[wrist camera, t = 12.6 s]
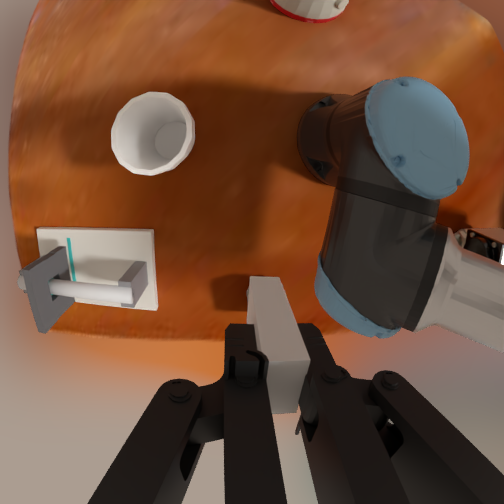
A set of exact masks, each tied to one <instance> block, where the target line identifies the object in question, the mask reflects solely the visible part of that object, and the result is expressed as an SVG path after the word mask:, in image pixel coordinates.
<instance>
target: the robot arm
mask: <svg viewBox="0 0 504 504" xmlns="http://www.w3.org/2000/svg"><path fill="white" fill-rule="evenodd" d="M297 144H298V149H299V153H300V156H301V158H302V160H303V162H304V164H305V166H306V167H307V168H308V170H309V171H310V172H311V173H312V174H313V175H314V176H315V177H316V178H317V179H319V180H320V181H322V182H324V183H326V184H328V185H331V186H334V187H336V189H335V191H334V196H333V201H332V206H331V211H330V216H329V220H328V225H327V229H326V233H325V237H324V241H323V245H322V249H321V251H320V253H319V256H318V269H317V274H316V278H315V286H314V287H315V294H316V296H317V298H318V299H319V303H320V304H321V306H322V307H323V309H324V310H325V311H326V312H327V313H328V314H329V315H330V316H331V317H332V318H333V319H334V320H336V321H337V322H338V323H340V324H341V325H343V326H344V327H346V328H348V329H350V330H352V331H354V332H356V333H358V334H361V335H364V336H368V337H373V336H377V337H378V338H389V337H391V336H393V335H395V334H396V333H397V332H398V331H400V329H401V327H402V328H404V329H407V330H410V331H412V332H414V333H416V332H418V331H420V330H423V329H425V328H427V327H429V326H433V325H436V326H438V327H441V328H443V329H446V330H448V331H451V332H453V333H456V334H458V335H461V336H463V337H465V338H468V339H470V340H473V341H475V342H478V343H481V344H483V345H485V346H488V347H490V348H493V349H495V350H498V351H500V352H503V353H504V265H503V264H501V263H498V262H496V261H494V260H491V259H489V258H486V257H484V256H481V255H479V254H476V253H474V252H471V251H469V250H466V249H464V248H462V247H461V246H459V244H458V242H457V240H456V238H455V236H454V234H453V232H452V230H451V228H449V227H446V226H443V225H441V224H438V223H436V217H437V212H438V208H439V204H440V199H442V198H445V197H447V196H449V195H451V194H453V193H454V192H455V191H456V190H457V186H458V185H461V184H462V183H463V181H464V179H465V177H466V173H467V170H468V165H469V143H468V137H467V133H466V130H465V127H464V124H463V122H462V119H461V118H460V117H459V116H458V114H457V111H456V109H455V107H454V105H453V104H452V102H451V101H450V100H449V99H448V98H447V97H446V95H445V94H444V93H442V92H441V91H440V90H439V89H438V88H437V87H435V86H434V85H432V84H430V83H429V82H427V81H424V80H422V79H419V78H415V77H399V78H396V79H392V80H384V81H381V82H379V83H377V84H375V85H373V86H371V87H369V88H367V89H365V90H363V91H361V92H359V93H358V94H356V95H354V96H352V95H346V94H336V95H330V96H327V97H324V98H322V99H320V100H319V101H317V102H315V103H314V104H313V105H311V106H310V107H309V108H308V109H307V110H306V112H305V113H304V115H303V116H302V118H301V120H300V123H299V127H298V132H297ZM298 404H299V406H300V410H301V415H300V418H299V421H298V424H297V427H296V432H295V434H296V435H298V434H299V431H300V429H301V433H302V438H303V442H304V446H305V450H306V454H307V458H308V463H309V467H310V470H311V475H312V479H313V484H314V487H315V492H316V496H317V500H318V504H504V475H503V474H502V473H501V472H500V471H499V470H498V469H497V468H496V467H495V466H494V465H493V464H492V463H491V462H490V461H489V460H488V459H487V458H486V457H485V456H484V455H483V454H482V453H481V452H480V451H479V450H478V449H477V448H476V447H475V446H474V445H473V444H472V443H471V442H470V441H469V440H468V439H467V438H466V437H465V436H464V435H463V434H462V433H461V432H460V431H459V430H457V428H455V427H454V426H453V425H452V424H451V423H450V422H449V421H448V420H447V419H446V418H445V417H444V416H443V415H442V414H441V413H440V412H439V411H438V410H437V409H436V408H435V407H434V406H432V404H431V403H430V402H429V401H428V400H427V399H425V398H424V397H423V396H422V395H421V394H420V393H419V392H418V391H417V390H416V389H415V388H414V387H413V386H412V385H411V384H410V383H409V382H407V380H406V379H405V378H403V377H402V376H401V375H399V374H398V373H396V372H393V371H386V370H385V371H380V372H378V373H377V374H375V375H374V377H373V379H372V380H364V379H357V378H352V377H351V376H350V374H349V373H348V371H347V370H345V369H344V368H342V367H341V366H338V365H336V363H335V361H334V359H333V357H332V355H331V353H330V351H329V349H328V347H327V345H326V342H325V340H324V339H323V336H322V334H321V332H320V330H319V329H318V328H317V327H316V326H314V325H313V324H312V323H298V324H297V323H296V320H295V318H294V315H293V312H292V310H291V307H290V304H289V302H288V299H287V297H286V294H285V291H284V289H283V286H282V284H281V281H280V279H279V277H258V276H250V283H249V297H248V311H247V324H231V323H230V325H229V326H228V327H227V328H226V330H225V359H224V374H223V376H222V377H221V378H220V380H218V381H217V382H215V383H213V384H210V385H206V386H200V387H198V386H197V385H196V384H195V383H194V382H191V381H189V380H185V379H173V380H170V381H168V382H165V383H164V384H163V385H162V386H161V387H160V388H159V389H158V391H157V392H156V394H155V395H154V397H153V399H152V400H151V402H150V404H149V405H148V407H147V408H146V410H145V411H144V413H143V415H142V416H141V418H140V419H139V421H138V423H137V425H136V426H135V427H134V429H133V431H132V432H131V434H130V436H129V437H128V439H127V440H126V442H125V444H124V445H123V447H122V449H121V450H120V452H119V453H118V455H117V456H116V458H115V460H114V461H113V463H112V464H111V466H110V468H109V469H108V471H107V473H106V474H105V476H104V477H103V479H102V481H101V482H100V484H99V486H98V487H97V489H96V490H95V492H94V494H93V495H92V497H91V499H90V500H89V502H88V504H181V503H182V501H183V498H184V496H185V493H186V491H187V488H188V486H189V483H190V481H191V478H192V476H193V473H194V471H195V468H196V465H197V463H198V460H199V458H200V455H201V452H202V449H203V447H204V445H205V443H206V442H211V441H215V440H220V439H224V482H225V504H287V499H286V494H285V488H284V482H283V476H282V470H281V464H280V459H279V453H278V447H277V441H276V436H275V429H274V423H273V417H272V414H284V413H296V411H297V408H298ZM389 419H390V420H391V421H392V422H393V423H394V424H391V423H389V422H388V420H389Z"/></svg>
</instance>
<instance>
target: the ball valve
mask: <svg viewBox="0 0 504 504" xmlns="http://www.w3.org/2000/svg"><path fill="white" fill-rule="evenodd" d="M454 236H455V238H456V240H457V242H458V244H459V246H461V247H462V248H464V249H466V250H469V251H471V252H474V253H476V254H479V255H481V256H484V257H486V258H489V259H491V260H494V261H496V262H498V263H501V264H503V265H504V228H483V229H480V228H471V229H460V230H458V231H457V232H456V233H454Z"/></svg>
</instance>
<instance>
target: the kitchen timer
mask: <svg viewBox="0 0 504 504" xmlns="http://www.w3.org/2000/svg"><path fill="white" fill-rule="evenodd" d="M270 2H271V3H272V5H273V6H274V7H275V8H277V9H278V10H279V11H280V12H281V13H283V14H285V15H287V16H289V17H291V18H293V19H296V20H300V21H303V22H309V23H324V22H328V21H331V20H334V19H335V18H336V17H338V16H339V15H340V14H341V13H342V12H343V10H344V9H345V6H346V5H347V4H348V2H349V0H270Z"/></svg>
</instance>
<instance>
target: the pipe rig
mask: <svg viewBox="0 0 504 504" xmlns="http://www.w3.org/2000/svg"><path fill="white" fill-rule="evenodd" d="M37 238H38V245H39V252H40V258H42V257H43V256H45V255H46V254H48V253H49V252H50V251H52V250H53V249H55V248H57V247H58V246H66V251H67V259H68V265H69V271H70V277H71V281H67V280H58V279H54V278H52V279H50V280H49V281H48V283H49V288H50V293H51V295H53V294H54V295H61V296H68V297H74V298H75V302H81V303H89V304H97V305H105V306H114V307H123V308H133V309H143V310H155V311H156V310H157V308H158V298H157V286H156V271H155V252H154V229H129V228H84V227H40V228H38V229H37ZM40 258H38V259H40ZM38 259H37V260H38ZM35 261H36V260H35ZM33 262H34V261H33ZM33 262H32V263H33ZM30 264H31V263H30ZM30 264H29V265H30ZM27 266H28V265H27ZM27 266H26V267H27ZM24 268H25V267H24ZM24 268H23V269H24ZM19 273H20V276H19V277H18V281H17V283H18V287H19V288H20V289H23V290H24V293H27V290H26V286H25V282H24V277H23V273H22V269H21V270H20V271H19Z"/></svg>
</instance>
